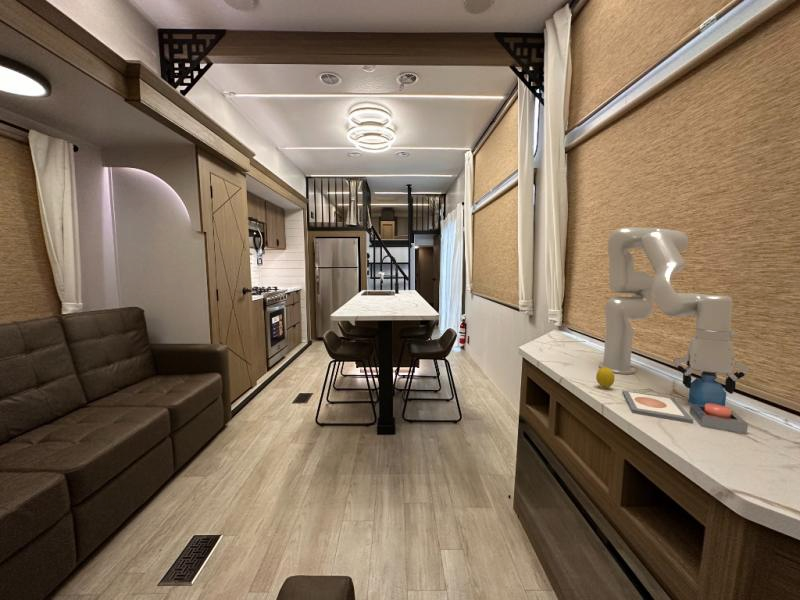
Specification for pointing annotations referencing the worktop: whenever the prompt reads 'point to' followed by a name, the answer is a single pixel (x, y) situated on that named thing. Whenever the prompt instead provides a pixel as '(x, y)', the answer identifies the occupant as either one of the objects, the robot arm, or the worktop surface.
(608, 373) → the lemon
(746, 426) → the button base
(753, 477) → the worktop surface
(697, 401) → the perfume bottle
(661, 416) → the board
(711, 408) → the button
